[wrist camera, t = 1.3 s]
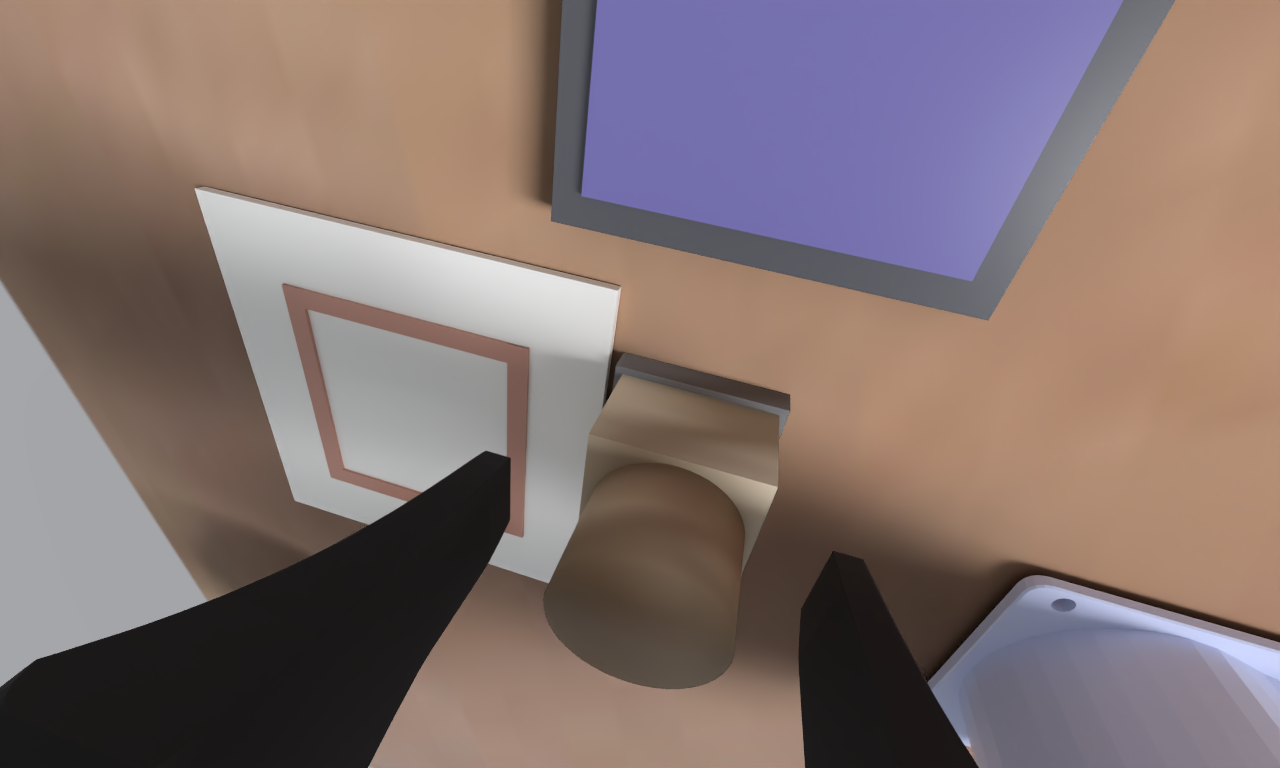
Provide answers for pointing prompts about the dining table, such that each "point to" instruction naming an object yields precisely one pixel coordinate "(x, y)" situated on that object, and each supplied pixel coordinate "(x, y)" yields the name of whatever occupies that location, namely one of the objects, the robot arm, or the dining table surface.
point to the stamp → (667, 523)
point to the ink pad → (839, 131)
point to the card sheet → (416, 365)
